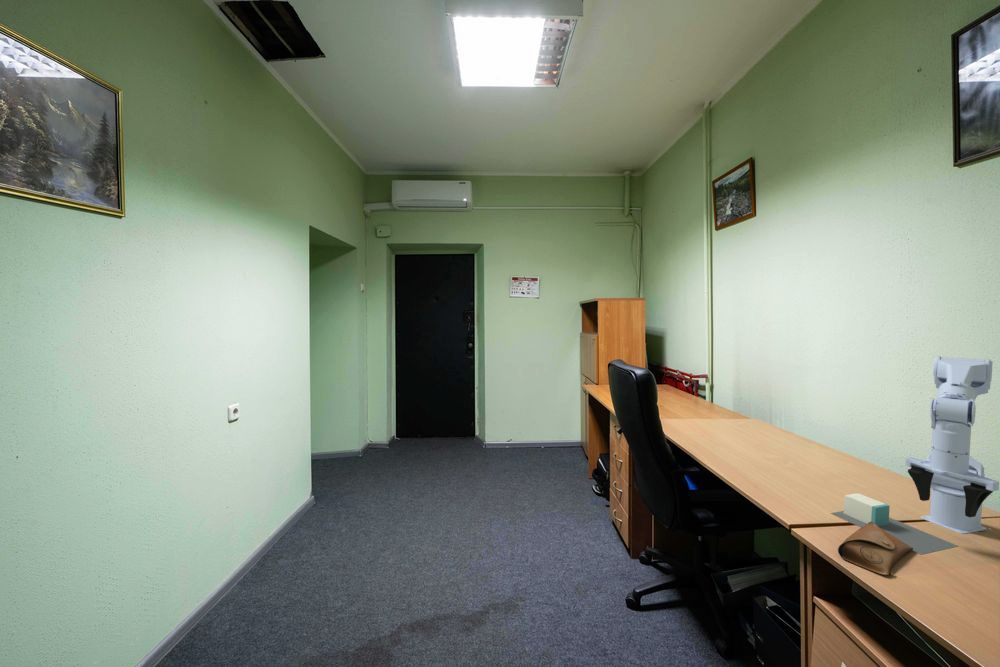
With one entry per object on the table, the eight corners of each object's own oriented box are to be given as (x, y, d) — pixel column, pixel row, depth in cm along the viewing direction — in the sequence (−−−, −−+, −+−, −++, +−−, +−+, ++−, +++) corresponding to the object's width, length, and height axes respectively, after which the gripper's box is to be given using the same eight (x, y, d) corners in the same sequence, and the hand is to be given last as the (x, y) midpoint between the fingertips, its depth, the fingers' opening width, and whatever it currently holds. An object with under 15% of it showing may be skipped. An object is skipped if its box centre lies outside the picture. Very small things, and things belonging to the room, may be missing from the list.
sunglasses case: (890, 576, 77) (868, 541, 80) (851, 577, 82) (832, 543, 85) (915, 548, 86) (895, 516, 89) (878, 549, 92) (860, 520, 94)
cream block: (888, 524, 97) (856, 510, 104) (889, 505, 97) (857, 493, 104) (874, 527, 96) (843, 513, 103) (875, 507, 96) (844, 495, 103)
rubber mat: (864, 508, 106) (864, 507, 106) (958, 547, 88) (958, 546, 88) (830, 514, 103) (830, 513, 103) (920, 556, 85) (920, 554, 85)
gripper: (898, 441, 94) (895, 495, 94) (985, 463, 80) (981, 526, 80) (917, 439, 95) (914, 492, 96) (1006, 460, 81) (1002, 522, 82)
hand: (946, 507), depth 88 cm, fingers open, 7 cm apart
